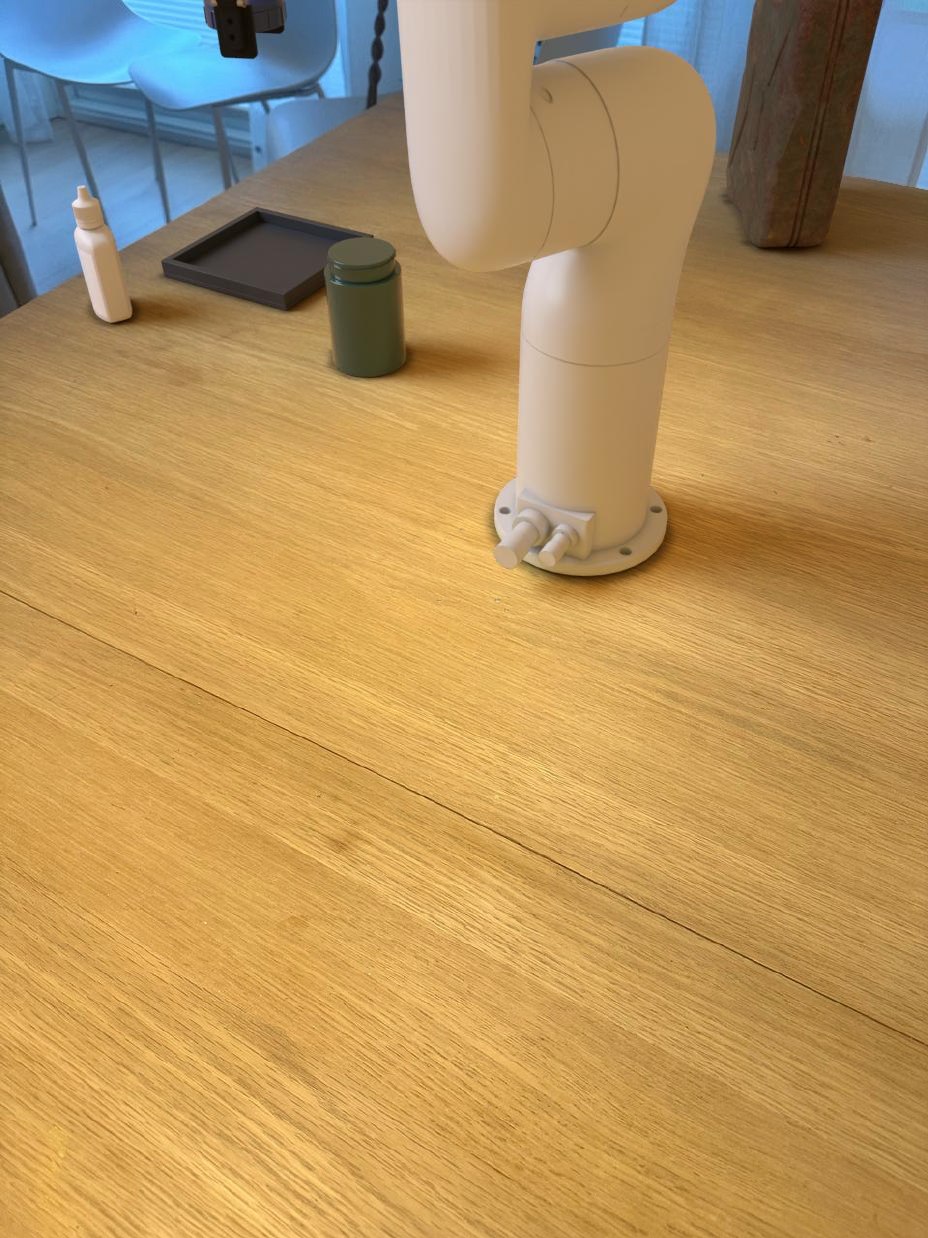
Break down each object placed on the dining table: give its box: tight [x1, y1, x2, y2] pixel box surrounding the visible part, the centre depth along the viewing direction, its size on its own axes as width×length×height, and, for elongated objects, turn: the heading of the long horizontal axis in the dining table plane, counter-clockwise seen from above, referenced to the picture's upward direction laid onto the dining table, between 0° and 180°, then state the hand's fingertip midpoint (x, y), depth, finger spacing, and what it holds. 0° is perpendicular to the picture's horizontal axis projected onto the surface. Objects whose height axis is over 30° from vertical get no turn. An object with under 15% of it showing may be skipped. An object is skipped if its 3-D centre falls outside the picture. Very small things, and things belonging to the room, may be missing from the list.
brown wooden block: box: [725, 0, 884, 248], centre depth 109 cm, size 19×8×25 cm, turn 1°
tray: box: [160, 206, 375, 311], centre depth 109 cm, size 16×16×2 cm
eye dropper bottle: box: [71, 184, 133, 324], centre depth 99 cm, size 4×6×12 cm
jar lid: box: [202, 0, 288, 32], centre depth 91 cm, size 7×7×2 cm
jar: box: [324, 237, 407, 378], centre depth 92 cm, size 7×7×10 cm
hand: (253, 42), depth 93 cm, fingers closed on jar lid, 6 cm apart
